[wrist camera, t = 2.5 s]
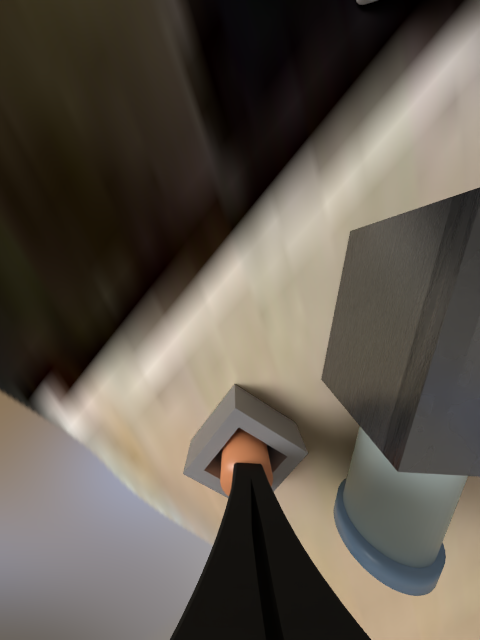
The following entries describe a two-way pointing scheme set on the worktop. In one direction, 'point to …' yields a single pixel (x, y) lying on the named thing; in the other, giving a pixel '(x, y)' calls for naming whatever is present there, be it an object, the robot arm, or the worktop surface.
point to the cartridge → (395, 519)
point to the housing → (413, 336)
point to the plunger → (243, 456)
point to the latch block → (256, 421)
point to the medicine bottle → (365, 1)
